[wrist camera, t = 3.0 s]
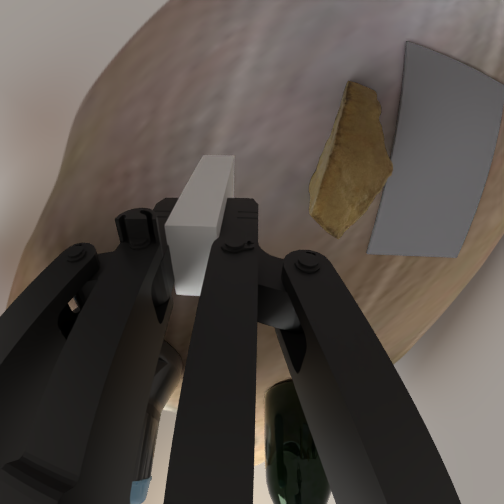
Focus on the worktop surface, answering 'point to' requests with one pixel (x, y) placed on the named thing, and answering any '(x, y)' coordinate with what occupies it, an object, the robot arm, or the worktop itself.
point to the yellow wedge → (350, 163)
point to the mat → (437, 156)
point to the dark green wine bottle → (291, 451)
